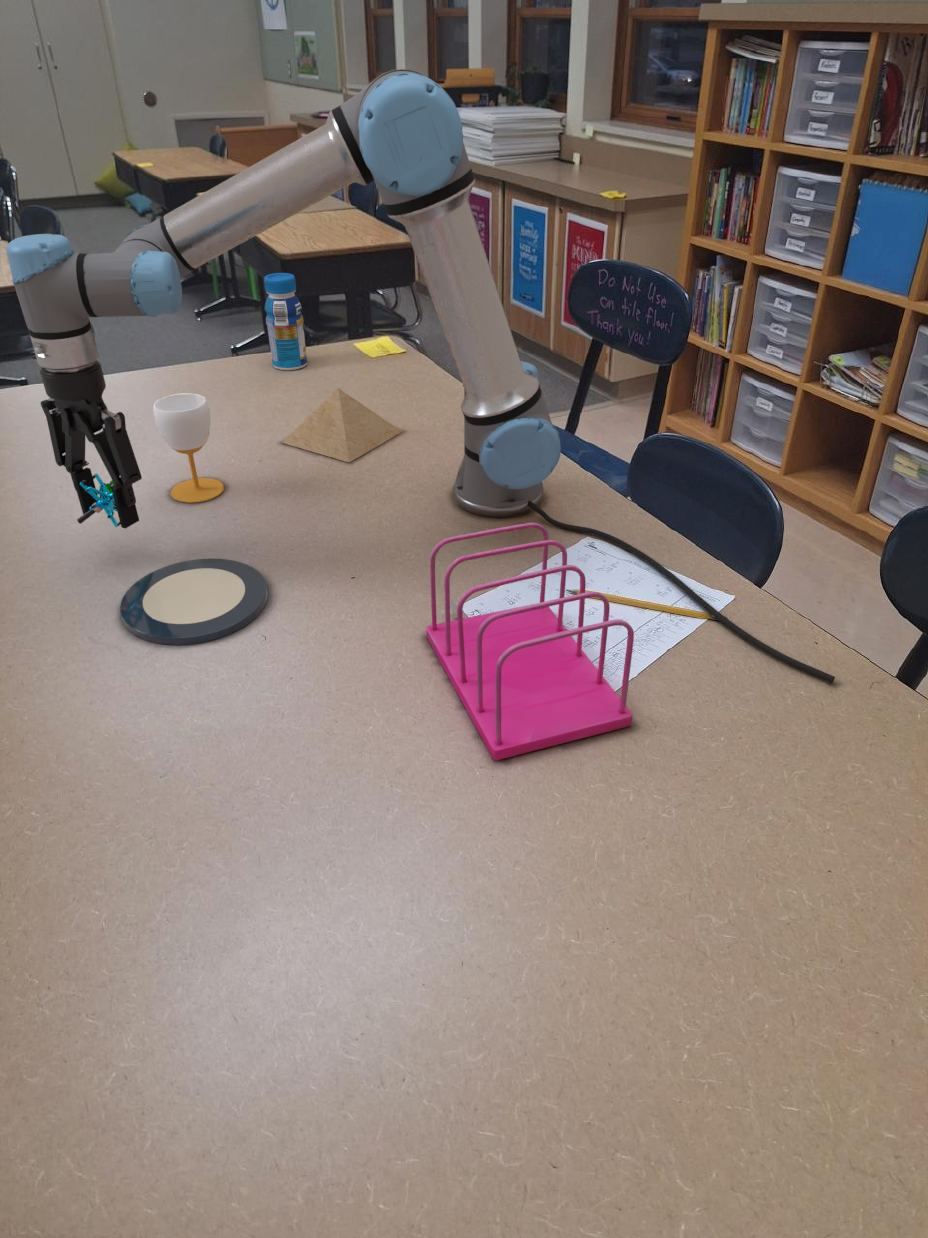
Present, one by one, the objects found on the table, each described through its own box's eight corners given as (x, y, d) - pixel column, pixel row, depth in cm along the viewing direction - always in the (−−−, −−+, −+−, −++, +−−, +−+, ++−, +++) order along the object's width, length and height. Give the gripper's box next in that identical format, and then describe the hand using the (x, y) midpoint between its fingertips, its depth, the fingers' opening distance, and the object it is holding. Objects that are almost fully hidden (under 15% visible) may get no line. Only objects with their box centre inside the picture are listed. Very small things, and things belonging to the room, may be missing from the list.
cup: (159, 497, 148) (138, 408, 138) (192, 475, 154) (174, 389, 145) (203, 506, 145) (185, 416, 136) (234, 484, 152) (219, 396, 142)
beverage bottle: (264, 366, 201) (252, 276, 190) (292, 356, 207) (281, 269, 195) (288, 374, 197) (276, 283, 185) (315, 364, 202) (306, 275, 191)
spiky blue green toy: (121, 522, 121) (83, 476, 119) (85, 549, 122) (46, 505, 120) (152, 505, 132) (118, 463, 130) (119, 530, 133) (84, 489, 131)
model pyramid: (404, 430, 170) (402, 381, 165) (349, 462, 159) (344, 411, 153) (338, 413, 178) (334, 366, 172) (281, 443, 166) (274, 392, 160)
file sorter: (493, 763, 96) (496, 652, 86) (425, 637, 115) (421, 534, 106) (632, 726, 100) (648, 617, 91) (544, 611, 120) (550, 511, 110)
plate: (296, 586, 125) (295, 579, 124) (199, 662, 111) (198, 654, 110) (193, 552, 133) (191, 545, 132) (90, 618, 119) (88, 611, 118)
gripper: (-6, 359, 114) (43, 512, 128) (101, 385, 106) (141, 545, 120) (41, 343, 120) (83, 492, 133) (146, 367, 112) (180, 522, 125)
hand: (111, 517), depth 126 cm, fingers closed on spiky blue green toy, 7 cm apart
